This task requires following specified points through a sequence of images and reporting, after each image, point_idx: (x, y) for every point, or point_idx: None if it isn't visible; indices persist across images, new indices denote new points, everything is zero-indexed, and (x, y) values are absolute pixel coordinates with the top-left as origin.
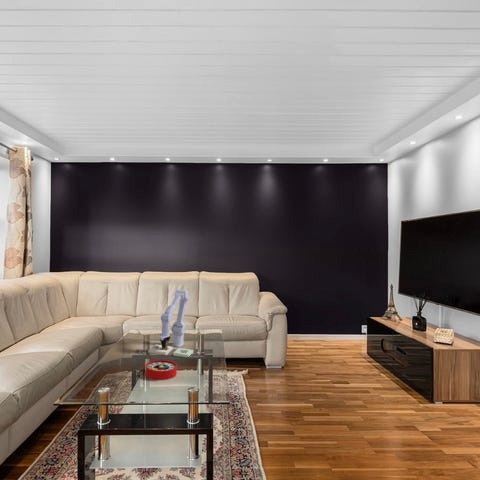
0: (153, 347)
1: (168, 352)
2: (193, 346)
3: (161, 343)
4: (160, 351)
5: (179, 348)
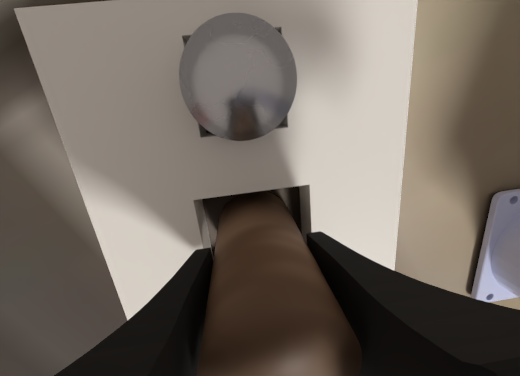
0: None
1: None
2: None
3: (142, 314)
4: (108, 255)
5: None
